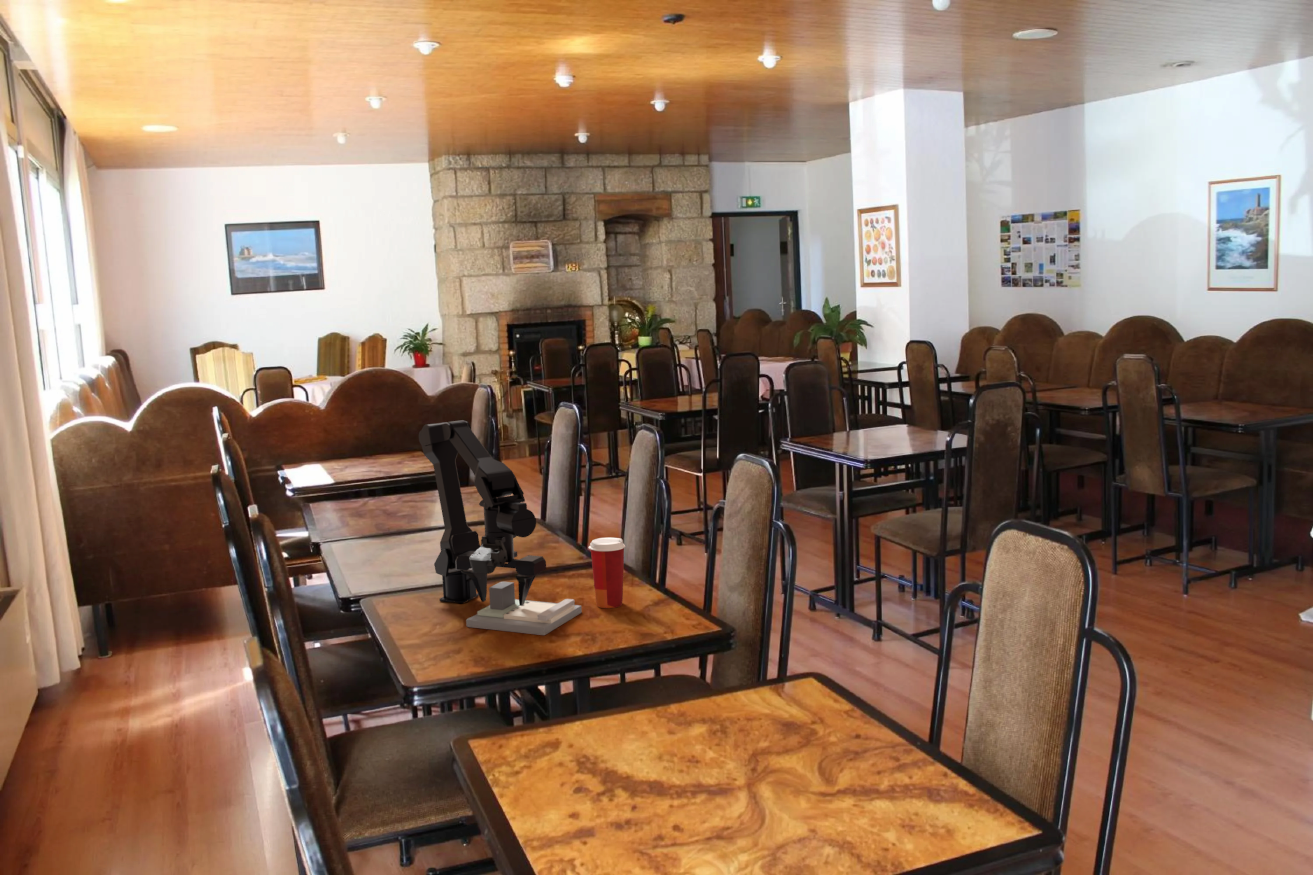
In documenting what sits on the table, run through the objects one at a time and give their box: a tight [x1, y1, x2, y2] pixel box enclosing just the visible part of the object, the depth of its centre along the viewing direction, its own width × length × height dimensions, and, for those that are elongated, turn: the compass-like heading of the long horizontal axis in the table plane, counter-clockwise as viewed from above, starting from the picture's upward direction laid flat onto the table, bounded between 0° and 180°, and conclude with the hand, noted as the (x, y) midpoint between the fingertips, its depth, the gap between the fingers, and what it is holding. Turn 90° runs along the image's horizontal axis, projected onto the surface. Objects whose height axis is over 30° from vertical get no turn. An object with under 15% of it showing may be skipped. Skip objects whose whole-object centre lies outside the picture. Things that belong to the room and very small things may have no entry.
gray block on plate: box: [476, 580, 527, 618], centre depth 230 cm, size 6×10×5 cm, turn 157°
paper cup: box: [588, 536, 626, 609], centre depth 236 cm, size 8×8×14 cm
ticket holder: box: [465, 598, 582, 636], centre depth 228 cm, size 18×16×3 cm
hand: (502, 603), depth 230 cm, fingers open, 9 cm apart
